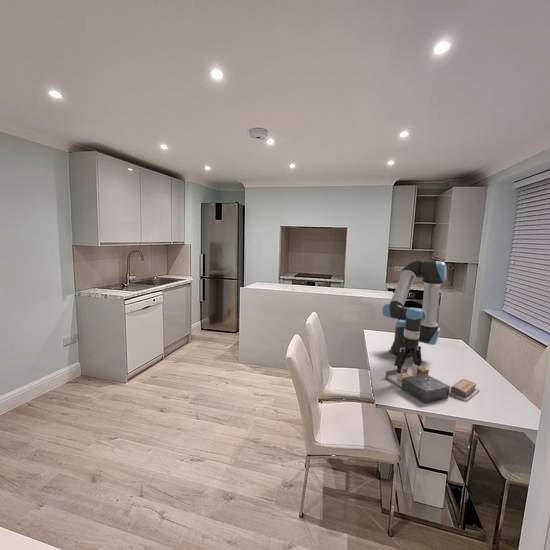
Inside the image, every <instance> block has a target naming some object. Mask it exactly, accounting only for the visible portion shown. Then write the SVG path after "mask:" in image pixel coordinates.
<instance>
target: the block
mask: <svg viewBox="0 0 550 550" xmlns="http://www.w3.org/2000/svg"><path fill="white" fill-rule="evenodd" d="M421 374H427V375H429V369H428V368H426V367H424V366H423V365H422V366H421V365H420V366H419V365H418V370H417V375H421Z"/></svg>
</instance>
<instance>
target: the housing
mask: <svg viewBox="0 0 550 550" xmlns="http://www.w3.org/2000/svg"><path fill="white" fill-rule="evenodd" d="M450 387H451V385H449V384H447V383H445V382H443V381H442V380H441V381H440V380H438V379H437V378H435V377H432V376H431V375H429V374H428V375H427V374H421V375H416V376H413V375H412V376H411V377H406V378H403V380H402V387H401V390H402V391H404V392H405V393H407V394H409V395H411V397H414V398H415V399H417V400H418V401H420V402H422V404H423V403H424V404H428V403H432V402H435V401H436V402H437V401H441V400H443V399H447V398H448V399H449V397H450V395H449V390H450Z"/></svg>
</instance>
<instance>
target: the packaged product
mask: <svg viewBox="0 0 550 550" xmlns="http://www.w3.org/2000/svg"><path fill="white" fill-rule="evenodd" d="M476 386H477V383H475V382H474V381H472V380H468V379H466V378H463V379H460V381H458V382H456V383H455V384H454V385H451V386H450V390H449V396H452V397H454V398H456V399H459V400H461V401H462V402H463V401H464V402H468V401H469V400H470V399H471V398H473V397H474V396H476V394H478V393H479V392H480V389H479V388H476Z"/></svg>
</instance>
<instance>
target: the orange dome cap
mask: <svg viewBox="0 0 550 550" xmlns="http://www.w3.org/2000/svg"><path fill="white" fill-rule="evenodd" d="M410 375H411V374H410ZM410 375H406V374H402V380H403V378H406V377H411V376H410ZM402 380H400V379H399V381H401V382H402Z"/></svg>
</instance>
